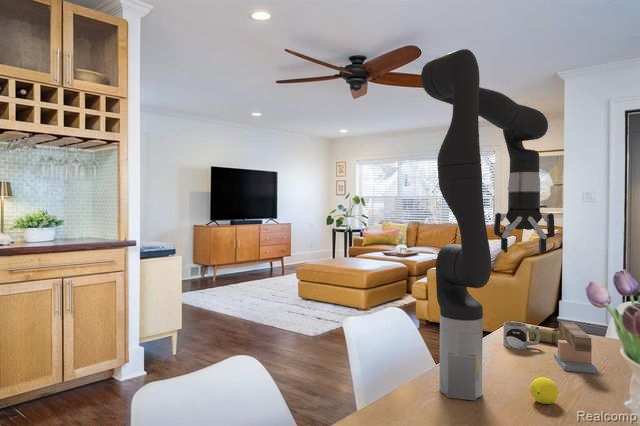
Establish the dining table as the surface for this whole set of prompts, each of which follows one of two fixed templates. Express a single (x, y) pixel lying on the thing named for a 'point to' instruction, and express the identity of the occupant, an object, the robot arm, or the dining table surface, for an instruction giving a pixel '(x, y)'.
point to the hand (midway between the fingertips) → (523, 253)
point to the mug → (518, 335)
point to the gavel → (546, 335)
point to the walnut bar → (575, 336)
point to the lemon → (544, 390)
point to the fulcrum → (574, 358)
